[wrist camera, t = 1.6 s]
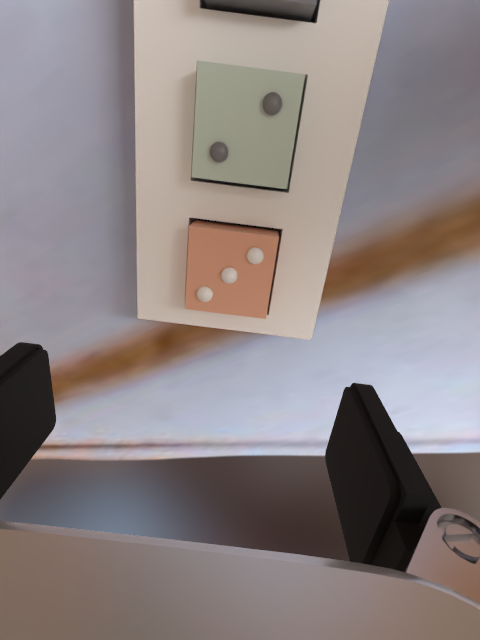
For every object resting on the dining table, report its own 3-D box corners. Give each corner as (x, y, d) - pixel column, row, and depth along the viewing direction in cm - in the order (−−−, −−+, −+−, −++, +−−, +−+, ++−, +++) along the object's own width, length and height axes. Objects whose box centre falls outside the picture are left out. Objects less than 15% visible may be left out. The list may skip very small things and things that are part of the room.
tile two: (299, 84, 22) (305, 73, 19) (283, 186, 24) (287, 189, 21) (204, 72, 21) (196, 59, 19) (198, 175, 24) (190, 177, 21)
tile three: (277, 230, 25) (279, 238, 23) (265, 305, 28) (266, 320, 25) (195, 219, 25) (188, 226, 23) (191, 296, 28) (184, 310, 25)
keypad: (407, -142, 19) (433, -194, 16) (306, 323, 30) (311, 339, 28) (149, -176, 18) (130, -235, 16) (148, 304, 30) (137, 318, 27)
